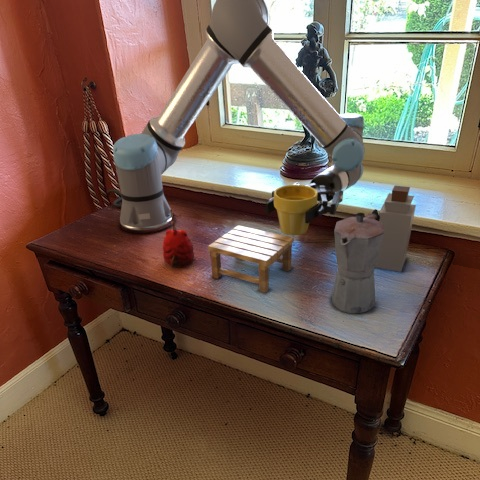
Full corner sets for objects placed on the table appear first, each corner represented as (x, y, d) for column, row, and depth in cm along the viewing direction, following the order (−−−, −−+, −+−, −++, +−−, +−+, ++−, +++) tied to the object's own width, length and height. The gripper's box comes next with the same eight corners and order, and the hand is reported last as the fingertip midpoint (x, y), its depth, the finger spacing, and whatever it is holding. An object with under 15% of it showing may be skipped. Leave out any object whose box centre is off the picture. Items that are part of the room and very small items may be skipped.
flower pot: (313, 240, 109) (316, 200, 103) (270, 237, 111) (270, 199, 105) (316, 222, 117) (319, 185, 112) (276, 220, 119) (276, 183, 113)
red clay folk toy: (196, 256, 115) (190, 199, 107) (192, 270, 110) (185, 210, 101) (167, 256, 116) (158, 199, 107) (161, 270, 110) (151, 211, 102)
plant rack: (210, 277, 107) (207, 245, 102) (239, 254, 115) (238, 225, 110) (266, 293, 100) (266, 261, 95) (292, 268, 108) (293, 237, 104)
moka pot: (315, 312, 93) (322, 220, 82) (346, 279, 103) (355, 192, 92) (360, 326, 89) (373, 231, 77) (387, 290, 99) (402, 201, 87)
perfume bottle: (405, 258, 110) (419, 185, 99) (401, 271, 105) (415, 195, 95) (377, 254, 112) (387, 181, 102) (371, 266, 107) (382, 192, 97)
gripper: (367, 206, 119) (328, 238, 105) (291, 191, 130) (246, 218, 116) (371, 177, 115) (331, 207, 100) (291, 164, 126) (246, 189, 111)
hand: (286, 213), depth 108 cm, fingers closed on flower pot, 10 cm apart
